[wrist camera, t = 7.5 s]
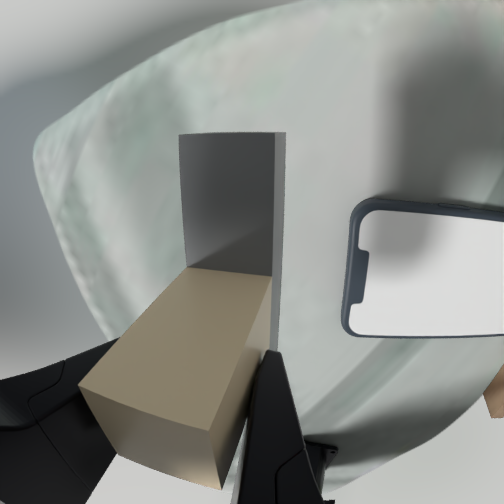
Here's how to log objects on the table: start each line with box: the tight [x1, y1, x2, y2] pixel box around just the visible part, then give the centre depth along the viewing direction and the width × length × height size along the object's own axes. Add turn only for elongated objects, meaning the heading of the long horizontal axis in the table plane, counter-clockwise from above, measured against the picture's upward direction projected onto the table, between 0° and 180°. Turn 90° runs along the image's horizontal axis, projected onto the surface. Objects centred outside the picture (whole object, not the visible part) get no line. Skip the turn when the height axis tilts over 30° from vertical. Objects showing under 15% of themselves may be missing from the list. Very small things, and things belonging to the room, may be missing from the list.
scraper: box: [78, 132, 286, 490], centre depth 8 cm, size 10×2×7 cm, turn 0°
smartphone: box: [341, 199, 504, 338], centre depth 16 cm, size 9×2×16 cm
